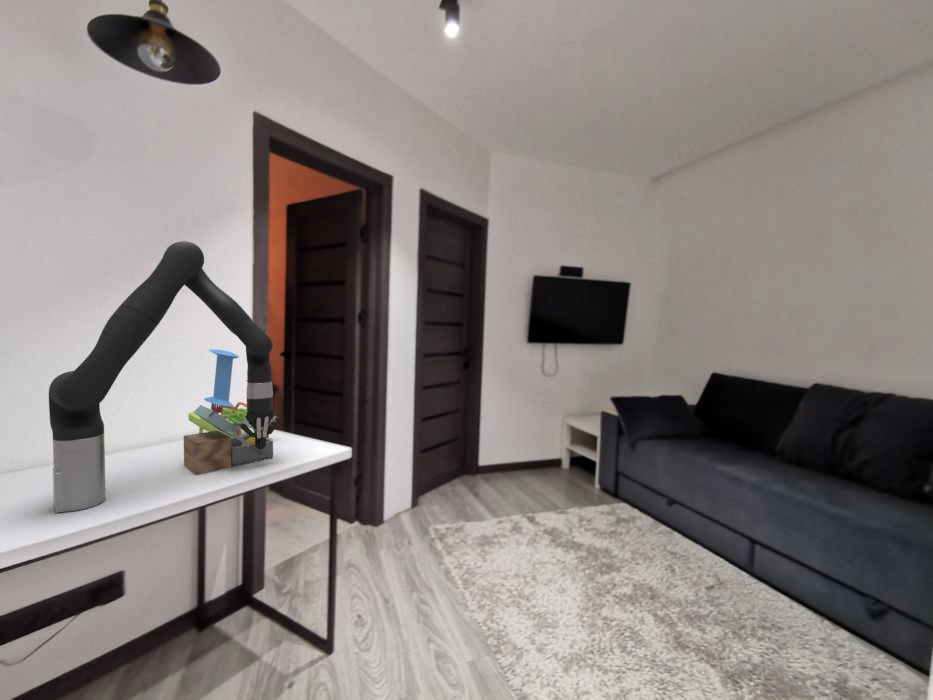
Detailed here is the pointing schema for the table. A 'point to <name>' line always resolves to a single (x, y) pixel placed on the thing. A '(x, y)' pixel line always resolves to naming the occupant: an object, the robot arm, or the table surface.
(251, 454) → the bin
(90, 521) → the table surface
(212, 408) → the catamaran
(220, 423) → the tray
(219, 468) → the pedestal
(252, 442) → the lemon
